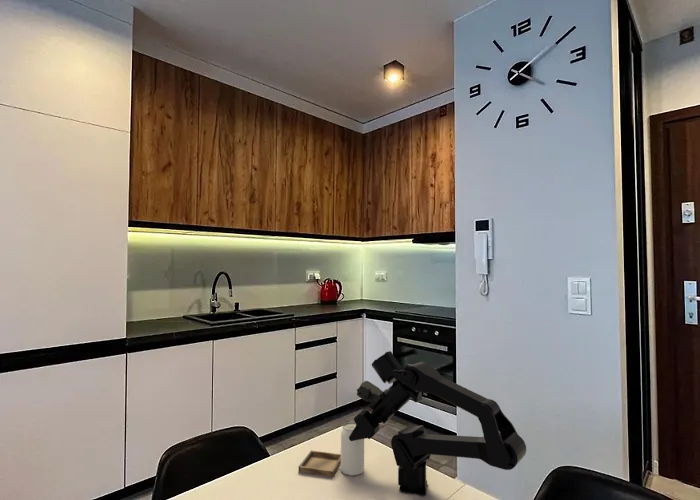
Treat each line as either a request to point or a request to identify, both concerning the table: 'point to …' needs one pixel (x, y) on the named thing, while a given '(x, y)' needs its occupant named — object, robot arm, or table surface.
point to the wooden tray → (320, 463)
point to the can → (351, 452)
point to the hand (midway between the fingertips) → (357, 432)
